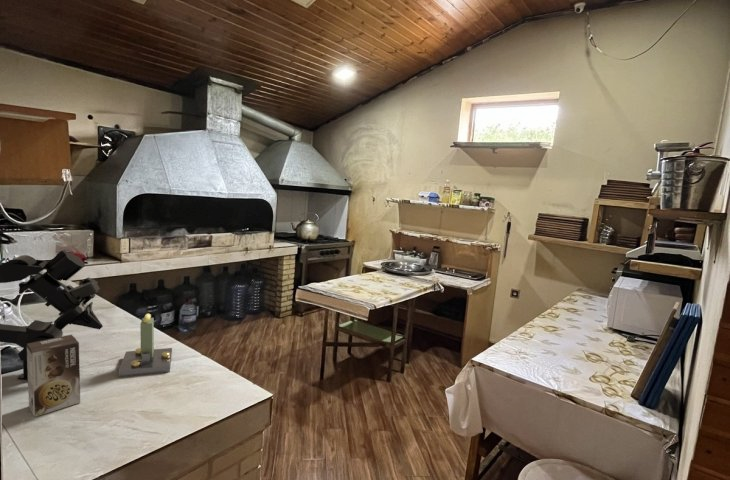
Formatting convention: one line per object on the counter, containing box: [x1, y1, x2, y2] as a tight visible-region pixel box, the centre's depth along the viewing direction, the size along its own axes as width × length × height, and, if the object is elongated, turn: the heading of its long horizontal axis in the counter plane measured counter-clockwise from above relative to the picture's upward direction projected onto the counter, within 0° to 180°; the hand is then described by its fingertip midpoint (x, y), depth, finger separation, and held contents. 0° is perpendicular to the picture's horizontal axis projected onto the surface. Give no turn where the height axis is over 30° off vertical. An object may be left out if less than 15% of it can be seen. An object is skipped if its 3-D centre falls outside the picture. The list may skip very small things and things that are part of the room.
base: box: [118, 347, 173, 378], centre depth 118 cm, size 13×13×5 cm
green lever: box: [139, 313, 155, 359], centre depth 117 cm, size 3×5×13 cm, turn 24°
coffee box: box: [27, 334, 81, 418], centre depth 94 cm, size 9×6×16 cm
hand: (101, 327), depth 112 cm, fingers closed
